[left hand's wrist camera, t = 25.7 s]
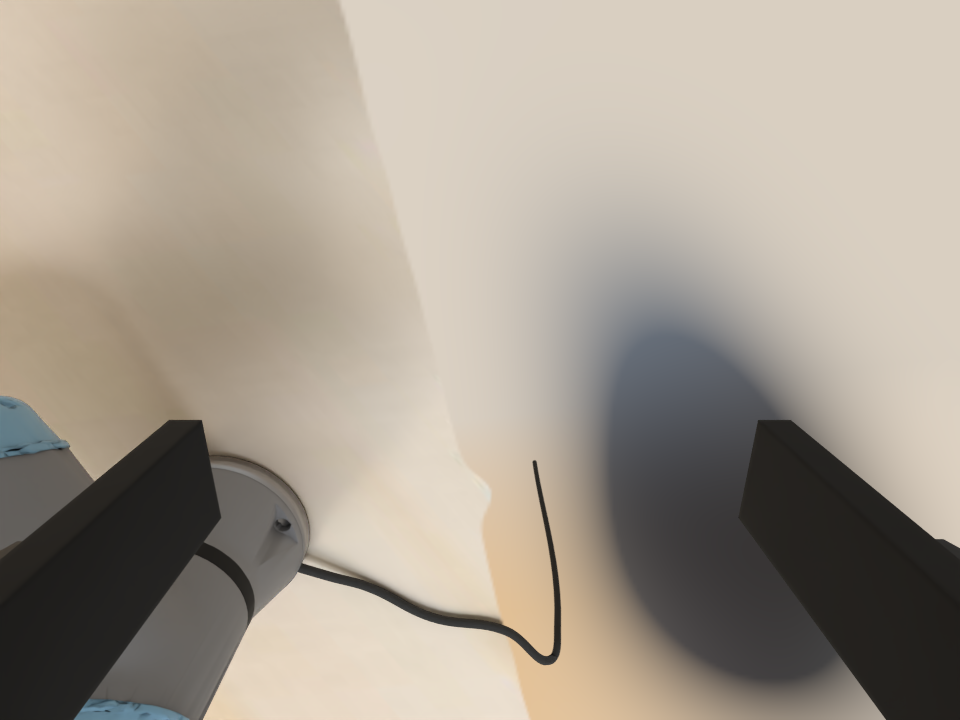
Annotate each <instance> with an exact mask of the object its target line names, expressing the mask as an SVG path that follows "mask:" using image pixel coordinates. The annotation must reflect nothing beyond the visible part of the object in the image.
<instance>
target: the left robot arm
mask: <svg viewBox="0 0 960 720" xmlns="http://www.w3.org/2000/svg"><path fill="white" fill-rule="evenodd" d="M69 447H70V445H69V444H68V442H66V441H65V440H61V439H60V438H59V437H58V436H57V435H56V434H55V433H54V432H53V431H52V430H51V429H50V428H49V427H48V426H47V425H46V424H45V423H44V422H43V420H42V419H41V418H40V417H39V416H38V415H37V414H36V413H35V411H34V410H33V409H32V408H31V407H30V406H29V405H27V404H26V403H24V402H23V401H21V400H18V399H16V398H12V397H8V396H0V720H203V718H204V716H205V714H206V712H207V710H208V708H209V706H210V704H211V701H212V699H213V697H214V695H215V693H216V691H217V689H218V687H219V685H220V683H221V681H222V679H223V677H224V675H225V673H226V671H227V668H228V666H229V664H230V662H231V660H232V658H233V656H234V654H235V652H236V650H237V648H238V646H239V644H240V642H241V640H242V638H243V635H244V633H245V631H246V629H247V627H248V625H249V623H250V622H251V620H252V618H253V617H254V616H255V615H256V614H257V613H258V612H259V611H260V610H261V609H263V608H264V607H265V606H266V605H267V604H268V603H269V602H270V601H271V600H272V599H273V598H274V597H275V596H276V595H277V594H278V593H279V592H280V591H281V590H282V589H283V588H285V587H286V586H287V585H288V584H289V583H290V582H291V581H292V579H293V578H294V577H295V575H296V574H297V572H299V573H303V574H306V575H310V576H313V577H317V578H320V579H324V580H327V581H331V582H335V583H339V584H343V585H347V586H351V587H355V588H359V589H362V590H365V591H367V592H370V593H372V594H375V595H377V596H379V597H381V598H383V599H385V600H387V601H389V602H391V603H392V604H394V605H396V606H398V607H400V608H401V609H403V610H405V611H407V612H409V613H411V614H413V615H415V616H417V617H420V618H422V619H425V620H428V621H431V622H434V623H438V624H442V625H447V626H454V627H464V628H475V629H483V630H489V631H494V632H497V633H500V634H503V635H506V636H508V637H510V638H511V639H513V640H514V641H516V642H517V643H518V644H519V645H520V646H521V647H522V648H523V649H524V650H525V651H526V652H527V653H528V654H529V655H530V656H531V657H532V658H533V659H534V660H535V661H537V662H538V663H540V664H542V665H550V664H553V663H554V662H555V661H556V660H557V659H558V657H559V655H560V650H561V598H560V586H559V576H558V569H557V562H556V556H555V551H554V545H553V540H552V535H551V530H550V525H549V521H548V516H547V511H546V507H545V502H544V497H543V493H542V488H541V483H540V478H539V472H538V467H537V461H536V460H533V462H532V463H533V469H534V476H535V481H536V487H537V492H538V497H539V502H540V507H541V512H542V517H543V522H544V527H545V532H546V537H547V543H548V548H549V555H550V561H551V569H552V578H553V589H554V645H553V650H552V653H551V654H550V655H549V656H543V655H541V654H540V653H538V652H537V651H536V650H535V649H534V648H533V647H532V646H531V645H530V644H529V643H528V642H527V641H526V640H525V639H524V638H523V637H522V636H521V635H520V634H519V633H517V632H516V631H514V630H513V629H511V628H509V627H507V626H504V625H501V624H498V623H494V622H489V621H483V620H475V619H463V618H454V617H447V616H442V615H438V614H435V613H432V612H429V611H426V610H424V609H421V608H419V607H417V606H415V605H413V604H411V603H409V602H407V601H405V600H403V599H402V598H400V597H398V596H396V595H395V594H393V593H391V592H389V591H387V590H385V589H383V588H381V587H379V586H377V585H374V584H372V583H369V582H366V581H363V580H360V579H357V578H353V577H349V576H345V575H341V574H337V573H333V572H330V571H326V570H323V569H319V568H316V567H312V566H309V565H306V564H302V561H303V559H304V557H305V554H306V552H307V549H308V545H309V539H310V530H309V523H308V518H307V516H306V513H305V510H304V508H303V506H302V504H301V502H300V501H299V499H298V498H297V496H296V495H295V494H294V492H293V491H292V490H291V489H290V488H289V487H288V486H287V485H286V484H285V483H284V482H283V481H282V480H281V479H279V478H278V477H277V476H275V475H274V474H272V473H271V472H269V471H268V470H266V469H264V468H262V467H260V466H258V465H256V464H253V463H250V462H248V461H245V460H241V459H237V458H232V457H225V456H209V454H208V449H207V444H206V439H205V434H204V429H203V424H202V420H169V421H168V422H166V423H165V424H164V425H163V426H162V427H160V428H159V429H158V430H157V431H155V432H154V433H153V434H152V435H151V436H149V437H148V438H147V439H146V440H145V441H143V442H142V443H141V444H140V445H139V446H137V447H136V448H135V449H134V450H132V451H131V452H130V453H129V454H128V455H126V456H125V457H124V458H123V459H122V460H120V461H119V462H118V463H117V464H115V465H114V466H113V467H112V468H111V469H109V470H108V471H107V472H106V473H105V474H103V475H102V476H101V477H100V478H98V479H97V480H96V481H95V482H94V481H93V479H92V478H91V477H90V475H89V474H88V473H87V472H86V470H85V469H84V468H83V466H82V465H81V464H80V463H79V461H78V460H77V459H76V457H75V456H74V455H73V454H72V452H71V451H70V450H69ZM739 519H740V520H741V522H742V523H743V525H744V526H745V527H746V529H747V530H748V531H749V533H750V534H751V535H752V537H753V538H754V540H755V541H756V542H757V544H758V545H759V546H760V548H761V549H762V551H763V552H764V553H765V555H766V556H767V557H768V559H769V560H770V561H771V563H772V564H773V566H774V567H775V568H776V570H777V571H778V572H779V574H780V575H781V577H782V578H783V579H784V581H785V582H786V583H787V585H788V586H789V587H790V589H791V590H792V592H793V593H794V594H795V596H796V597H797V598H798V600H799V601H800V602H801V604H802V605H803V607H804V608H805V609H806V611H807V612H808V613H809V615H810V616H811V618H812V619H813V620H814V622H815V623H816V624H817V626H818V627H819V629H820V630H821V631H822V633H823V634H824V635H825V637H826V638H827V639H828V641H829V642H830V644H831V645H832V646H833V648H834V649H835V650H836V652H837V653H838V655H839V656H840V657H841V659H842V660H843V661H844V663H845V664H846V665H847V667H848V668H849V670H850V671H851V672H852V674H853V675H854V676H855V678H856V679H857V681H858V682H859V683H860V685H861V686H862V687H863V689H864V690H865V691H866V693H867V694H868V696H869V697H870V698H871V700H872V701H873V702H874V704H875V705H876V706H877V708H878V709H879V711H880V712H881V713H882V715H883V716H884V717H885V719H886V720H960V548H958V547H957V546H955V545H953V544H951V543H949V542H947V541H946V540H944V539H934V538H933V537H932V536H931V535H929V534H928V533H927V532H926V531H925V530H923V529H922V528H921V527H920V526H919V525H917V524H916V523H915V522H914V521H912V520H911V519H910V518H909V517H908V516H906V515H905V514H904V513H903V512H901V511H900V510H899V509H898V508H897V507H896V506H894V505H893V504H892V503H891V502H889V501H888V500H887V499H886V498H885V497H883V496H882V495H881V494H880V493H879V492H877V491H876V490H875V489H874V488H872V487H871V486H870V485H869V484H868V483H866V482H865V481H864V480H863V479H862V478H860V477H859V476H858V475H857V474H855V473H854V472H853V471H852V470H851V469H849V468H848V467H847V466H846V465H845V464H843V463H842V462H841V461H840V460H838V459H837V458H836V457H835V456H834V455H832V454H831V453H830V452H829V451H827V450H826V449H825V448H824V447H823V446H821V445H820V444H819V443H818V442H817V441H815V440H814V439H813V438H812V437H811V436H809V435H808V434H807V433H806V432H805V431H803V430H802V429H801V428H800V427H798V426H797V425H796V424H795V423H794V422H792V421H791V420H758V424H757V429H756V434H755V439H754V444H753V449H752V454H751V458H750V463H749V468H748V474H747V478H746V483H745V488H744V493H743V498H742V503H741V508H740V513H739Z"/></svg>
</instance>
